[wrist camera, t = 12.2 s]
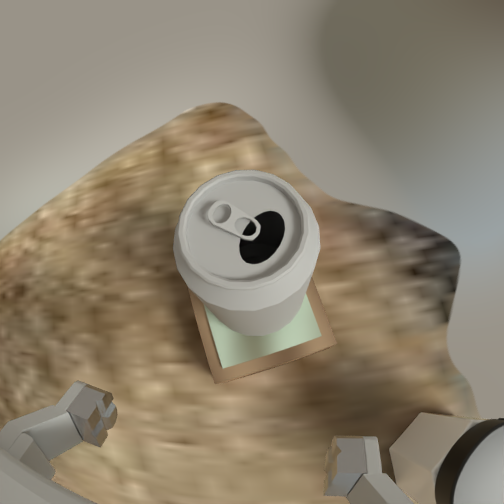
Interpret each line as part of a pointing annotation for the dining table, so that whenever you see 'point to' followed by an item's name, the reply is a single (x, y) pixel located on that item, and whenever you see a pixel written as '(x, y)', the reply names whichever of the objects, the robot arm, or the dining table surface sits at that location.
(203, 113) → the dining table surface
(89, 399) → the robot arm
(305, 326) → the picture frame
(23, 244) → the dining table surface
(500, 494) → the jar
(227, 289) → the can
